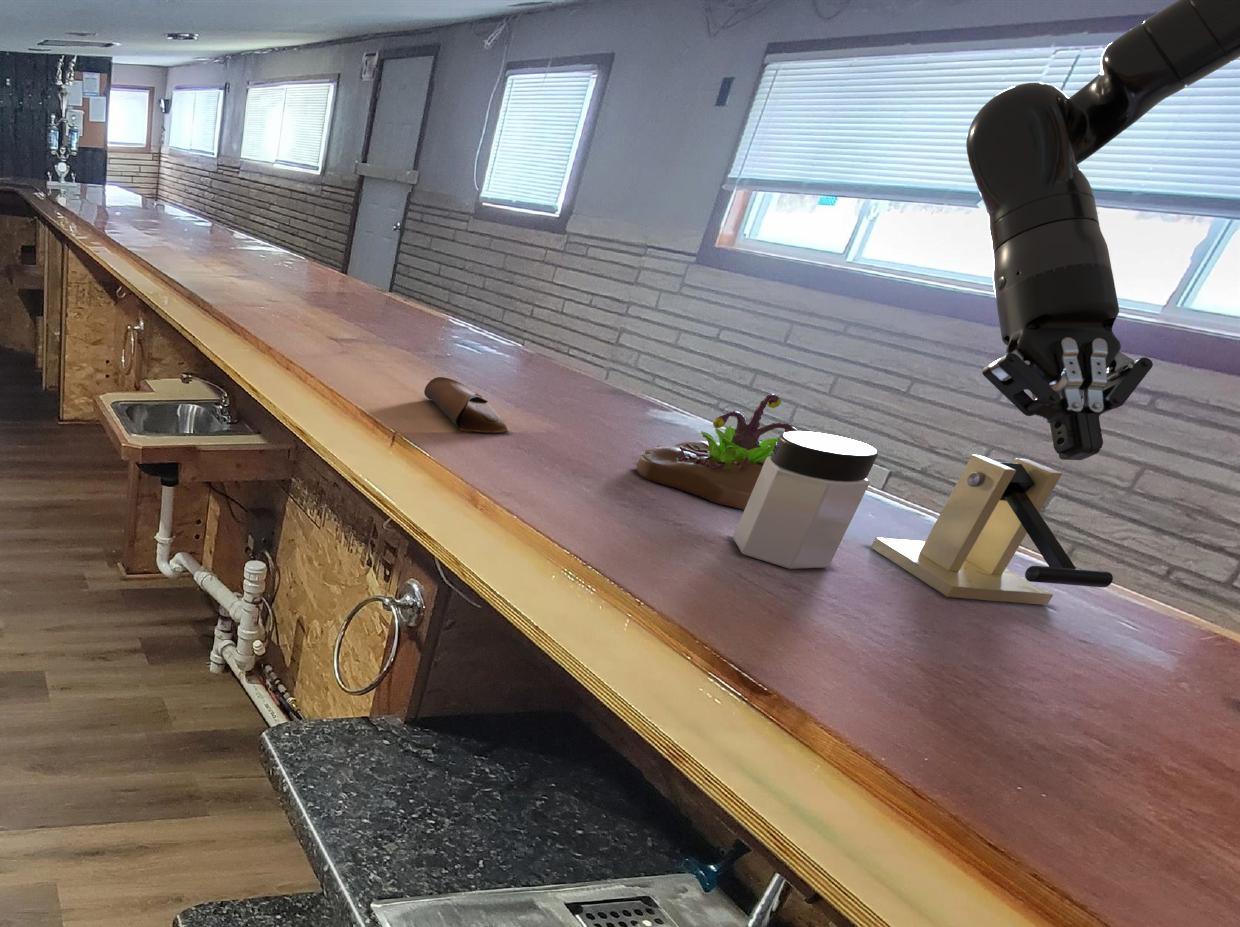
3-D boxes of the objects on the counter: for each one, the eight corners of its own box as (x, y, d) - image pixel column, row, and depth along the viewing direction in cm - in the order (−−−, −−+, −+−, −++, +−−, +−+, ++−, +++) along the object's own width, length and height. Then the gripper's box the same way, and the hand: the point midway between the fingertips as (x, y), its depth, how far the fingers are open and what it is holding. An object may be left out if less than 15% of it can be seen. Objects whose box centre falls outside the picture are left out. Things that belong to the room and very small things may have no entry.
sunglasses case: (514, 431, 129) (500, 389, 126) (465, 453, 130) (451, 413, 128) (474, 398, 144) (461, 361, 141) (432, 418, 146) (418, 382, 143)
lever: (1097, 594, 80) (1121, 577, 78) (1024, 588, 80) (1047, 571, 78) (1022, 483, 88) (1042, 464, 86) (957, 478, 88) (976, 460, 86)
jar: (783, 536, 99) (832, 430, 93) (847, 568, 92) (904, 455, 86) (712, 538, 97) (756, 430, 91) (771, 571, 90) (824, 456, 84)
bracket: (1047, 605, 86) (1121, 489, 80) (947, 597, 87) (1013, 481, 81) (958, 554, 96) (1018, 448, 90) (870, 547, 97) (924, 441, 91)
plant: (860, 500, 110) (904, 410, 104) (764, 522, 102) (806, 426, 97) (705, 452, 125) (736, 371, 120) (611, 467, 118) (640, 381, 112)
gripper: (1012, 258, 81) (1040, 435, 77) (1172, 261, 80) (1208, 441, 76) (942, 306, 88) (965, 470, 84) (1088, 310, 87) (1117, 476, 83)
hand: (1080, 456), depth 80 cm, fingers closed
